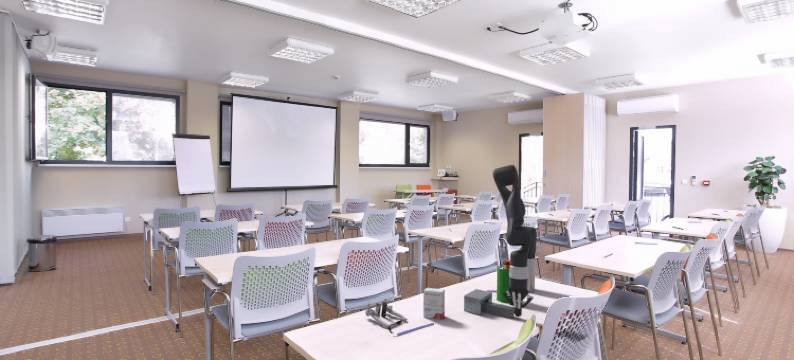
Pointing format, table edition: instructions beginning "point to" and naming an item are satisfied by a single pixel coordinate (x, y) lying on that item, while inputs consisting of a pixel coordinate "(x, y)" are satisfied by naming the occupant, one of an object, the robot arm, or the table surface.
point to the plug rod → (498, 309)
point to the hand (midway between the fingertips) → (517, 316)
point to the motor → (503, 282)
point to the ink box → (434, 303)
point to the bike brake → (384, 314)
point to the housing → (476, 301)
